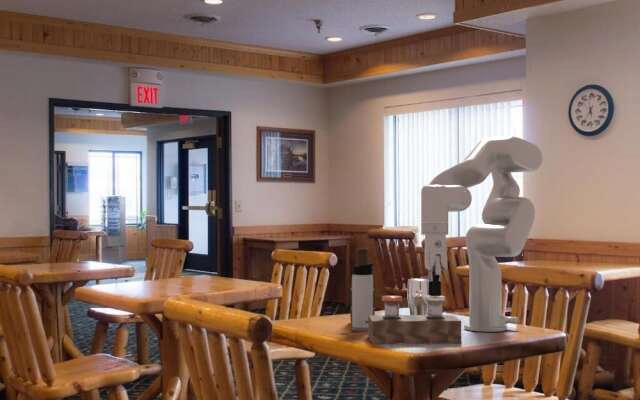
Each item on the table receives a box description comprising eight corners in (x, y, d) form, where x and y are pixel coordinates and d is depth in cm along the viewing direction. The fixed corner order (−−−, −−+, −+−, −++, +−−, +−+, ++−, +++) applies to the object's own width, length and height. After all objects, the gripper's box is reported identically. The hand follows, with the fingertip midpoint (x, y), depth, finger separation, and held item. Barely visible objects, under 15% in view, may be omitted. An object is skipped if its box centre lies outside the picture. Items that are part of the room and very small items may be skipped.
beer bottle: (373, 324, 238) (373, 248, 239) (348, 324, 240) (348, 248, 240) (375, 321, 246) (375, 247, 247) (351, 320, 247) (351, 247, 248)
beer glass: (434, 328, 230) (433, 279, 231) (425, 331, 224) (425, 280, 225) (412, 326, 234) (412, 278, 234) (403, 329, 228) (403, 279, 228)
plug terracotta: (400, 324, 212) (400, 295, 213) (403, 327, 207) (403, 297, 207) (380, 325, 212) (380, 295, 212) (382, 327, 207) (382, 297, 207)
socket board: (452, 336, 216) (452, 315, 216) (461, 343, 204) (461, 320, 204) (368, 336, 215) (368, 315, 215) (372, 343, 203) (372, 321, 203)
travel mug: (372, 331, 224) (372, 264, 224) (350, 331, 225) (350, 263, 226) (375, 328, 230) (375, 262, 231) (353, 328, 232) (353, 262, 232)
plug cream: (443, 324, 213) (443, 295, 213) (447, 327, 207) (447, 297, 207) (423, 324, 213) (423, 295, 213) (426, 327, 207) (426, 297, 207)
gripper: (453, 230, 203) (453, 298, 202) (443, 229, 218) (443, 293, 217) (425, 229, 203) (425, 298, 202) (417, 229, 218) (417, 293, 217)
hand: (434, 295), depth 210 cm, fingers closed
